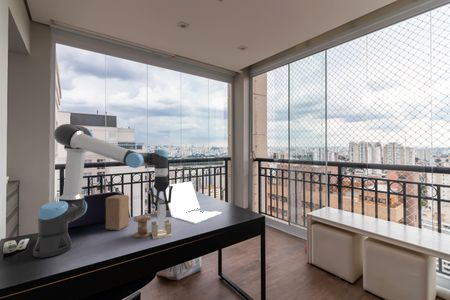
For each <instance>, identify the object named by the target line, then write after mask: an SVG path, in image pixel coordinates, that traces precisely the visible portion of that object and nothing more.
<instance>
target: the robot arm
mask: <svg viewBox="0 0 450 300" xmlns="http://www.w3.org/2000/svg"><path fill="white" fill-rule="evenodd" d="M53 137H54V139H55V141H56V143H58V144H59V145H62V146H63V149H64V151H65V152H66V158H65V159H66V160H65V171H64V182H63V192H62V194H61V195H60V196H59V198H58V200H57V201H52V202H48V203H45V204H44V205H41V207H39V208H38V214H37V219H38V223H37V224H38V227H37V228H38V231H37V233H38V236H37V237H38V238H37V241H36V243H35V246H34V248H33V256H34V257H35V258H49V257H54V256H57V255H61V254H63V253H65V252H67V251H69V250H71V249H72V246H73V243H72V239H71V237H70V234H69V232H68V231H69V228H68V226H69V224H70V223H72V222H74V221H75V220H78V219H80V218H82V217H83V216H84V215H85V214H86V212H87V209H88V203H87V201H85V195H83V194H82V191H83V181H84V180H83V179H84V169H85V159H86V157H85V156H86V153H87V152H89V153H93V154H95V155H99V156H101V157H105V158H108V159H111V160H114V161H116V162H119V163H122V164H125V165H127V166H128V167H130V168H132V169H133V168H134V169H136V168H140V167H145V166H146V167H147V166H148V167H149V166H153V167H154V183H153V186H150V187H149V191H150V198H151V205H153V206H154V210H155V211H156V216H157V218H158V217H159V205H158V200H160V199H159V197H160V193H161V192H162V193H163V198H164V199H163V200H164V202H165V217H166V216H167V210H169V207H168V203H171V193H172V188H173V186H170V185H171V184H169V177H168V176H169V175H168V174H169V172H168V171H169V170H168V168H169V167H168V166H169V156H168V154H169V153H168V150H167V149H165V148H163V149H161V148H160V149H159V148H158V149H154V152H136V151H133V150H131V149H128V148H126V147H122V146H119V145H116V144H114V143H111V142H108V141H105V140H103V139H100V138H98V137H94V134H93V132H92V131H91V130H90V129H89V128H87V127H85V126H82V125H77V124H76V125H75V124H71V123H63V124H61V125H58V126H57V127H56V128H55V129H54V133H53ZM168 187H169V196H168V201H167V196H166V189H167V188H168ZM154 190H156V195H154ZM154 197H155V198H154Z"/></svg>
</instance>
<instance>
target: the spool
mask: <svg viewBox="0 0 450 300" xmlns="http://www.w3.org/2000/svg"><path fill="white" fill-rule="evenodd" d="M151 218H152V217H151V215H139V216H135V217H134V218H133V221H134V222H136V223H137V231H136V232H134V235H133V237H134V238H136V239H143V238H148V237H150V236H152V233H151V231H150V230H148V222H149V221H151Z"/></svg>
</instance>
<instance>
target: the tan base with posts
mask: <svg viewBox="0 0 450 300" xmlns="http://www.w3.org/2000/svg"><path fill="white" fill-rule="evenodd" d="M165 221H166V222H164V229H158V225H157V221H151V231H150V232H151V237H152V240H156V239H164V238H169V237H172V223H171V222H170V220H169V219H165Z"/></svg>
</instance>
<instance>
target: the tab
mask: <svg viewBox="0 0 450 300" xmlns="http://www.w3.org/2000/svg"><path fill="white" fill-rule="evenodd" d="M158 205H159V217H157V220H158V222H159V223H165V222H166V221H165V220H166V216H165V199H158Z"/></svg>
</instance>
